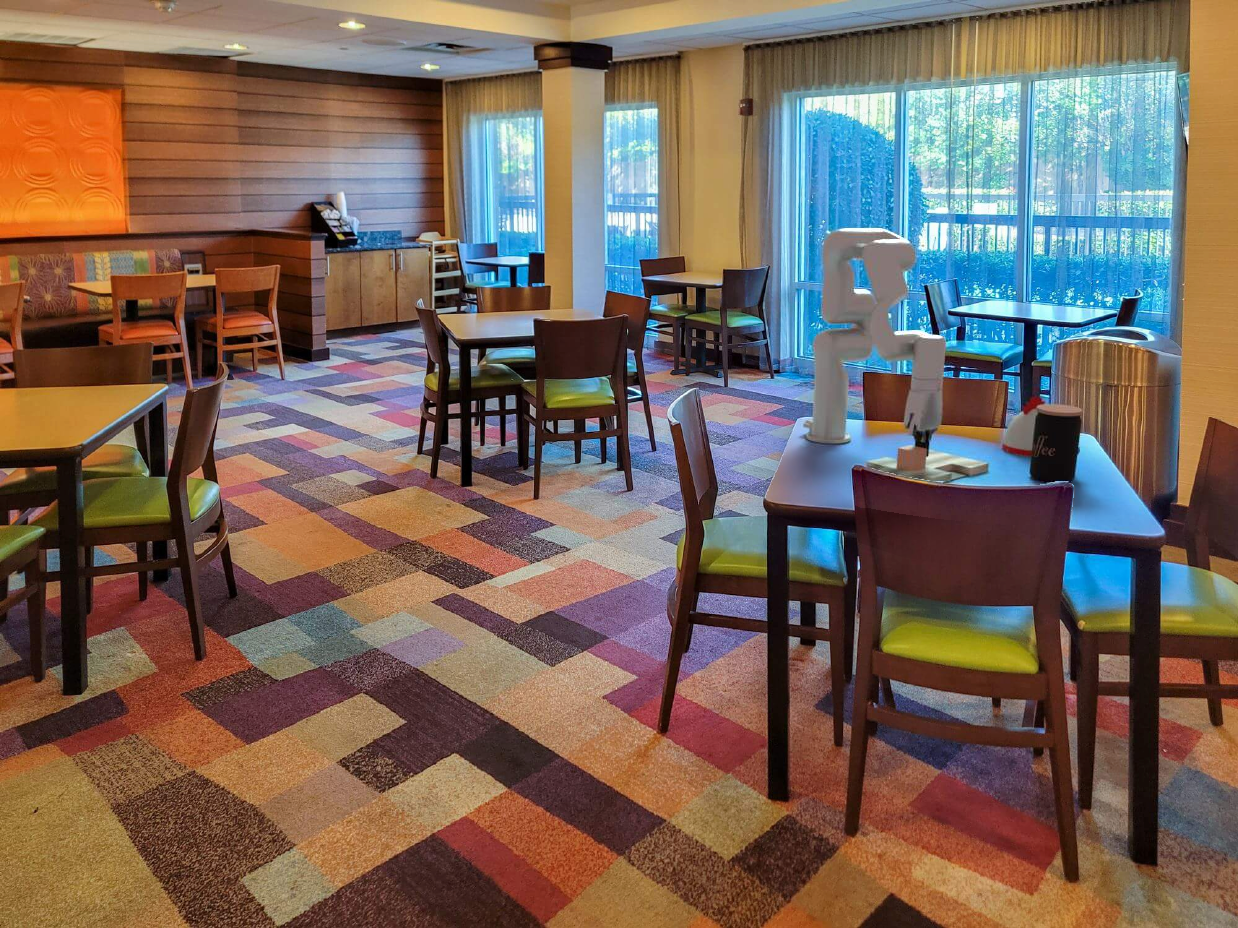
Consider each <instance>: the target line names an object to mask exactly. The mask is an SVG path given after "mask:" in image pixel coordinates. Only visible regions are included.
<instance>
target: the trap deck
mask: <svg viewBox="0 0 1238 928" xmlns="http://www.w3.org/2000/svg"><path fill="white" fill-rule="evenodd" d="M989 465H990V464H989V462H985V461H981V460H976V459H974V458H973V459H971V458H969V457H968V458H967V457H963V456H958V455H955V454H951V453H946V452H942V451H938V450H937V451H936V450H932V449H929V455H928V457H926V465H925V468H924V469H920V470H916V471H910V470H906V469H902V468H898V467H897V458H892V457H888V456H884V457H880V458H875V459H871V460H867V461H866V463H865V468H866V467H868V468H874V469H876V470H881V471H883V472H889V473H894V474H896V475H901V476H905V477H912V478H918V479H924V480H930V481H948V482H952V481H955V480H960V479H962V478H967V477H970V476H974V475H977V474H981V473H985V472H989ZM951 480H952V481H951Z"/></svg>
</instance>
